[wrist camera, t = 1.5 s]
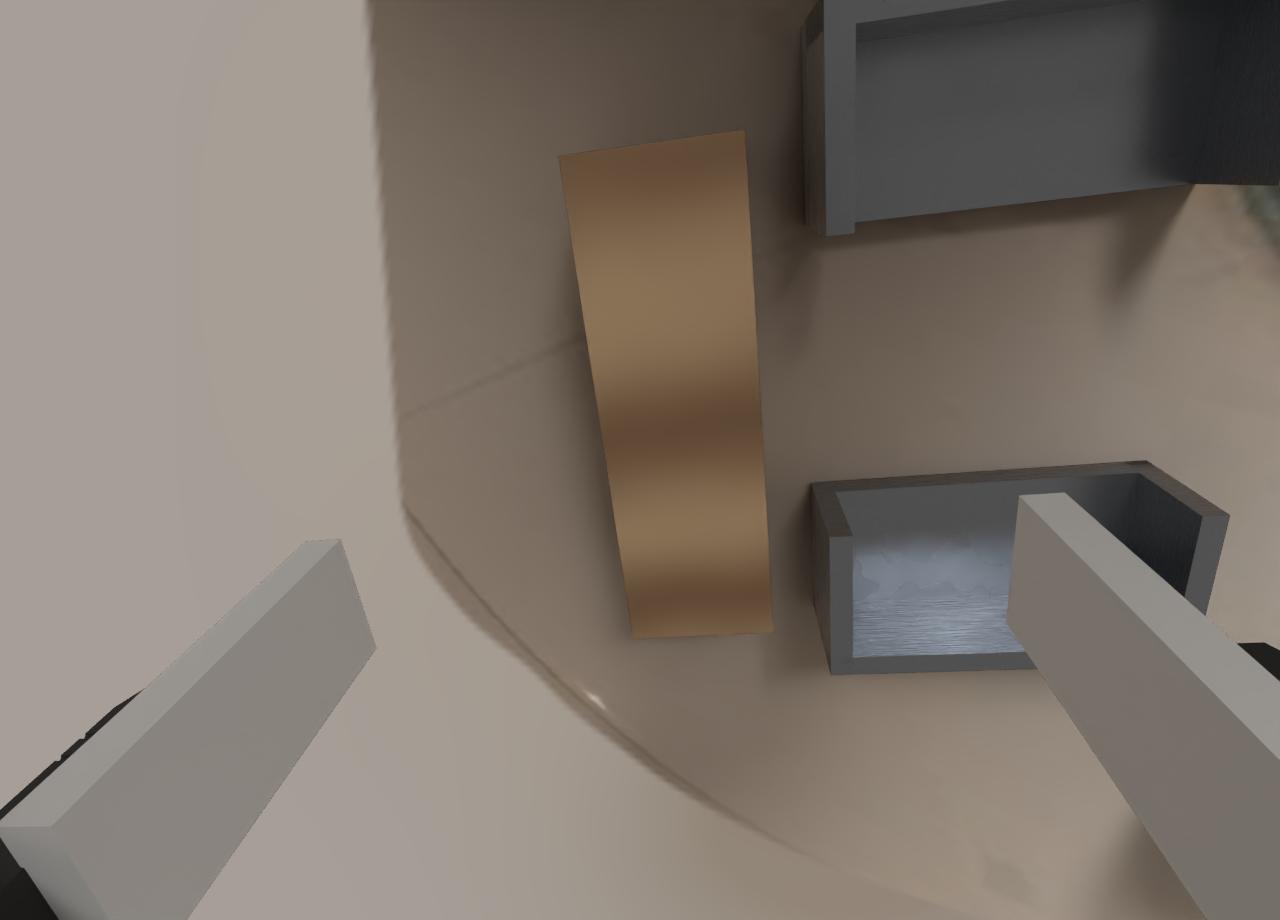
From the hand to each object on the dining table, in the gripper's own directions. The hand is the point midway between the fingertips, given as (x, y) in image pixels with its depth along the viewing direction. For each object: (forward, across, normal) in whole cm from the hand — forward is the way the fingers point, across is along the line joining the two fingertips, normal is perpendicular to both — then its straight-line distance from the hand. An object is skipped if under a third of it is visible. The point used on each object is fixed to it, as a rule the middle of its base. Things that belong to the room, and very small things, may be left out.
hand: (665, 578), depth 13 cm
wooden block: (+14, 0, 0) cm, 14 cm away
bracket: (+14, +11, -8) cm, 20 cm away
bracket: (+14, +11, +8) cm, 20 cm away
